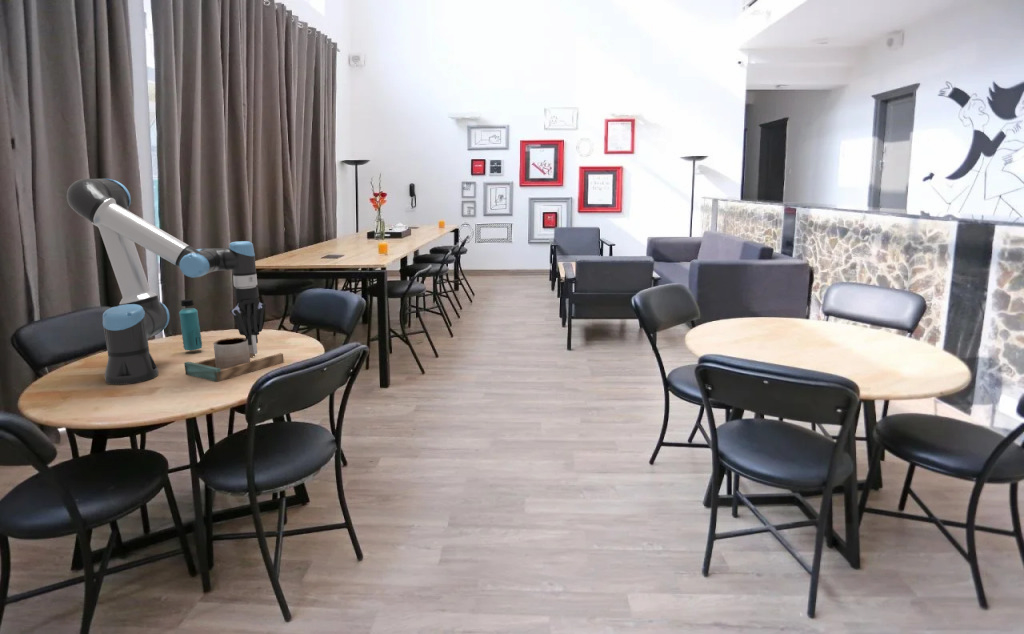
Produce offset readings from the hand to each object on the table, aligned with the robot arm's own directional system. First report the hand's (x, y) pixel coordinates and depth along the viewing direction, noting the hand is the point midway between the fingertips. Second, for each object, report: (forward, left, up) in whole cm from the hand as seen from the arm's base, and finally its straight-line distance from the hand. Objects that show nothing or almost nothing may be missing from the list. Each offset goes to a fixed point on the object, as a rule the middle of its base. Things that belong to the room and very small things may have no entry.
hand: (253, 353), depth 230 cm
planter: (-8, 0, -4) cm, 9 cm away
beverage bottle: (-1, +33, -4) cm, 34 cm away
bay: (-7, 0, -3) cm, 8 cm away
